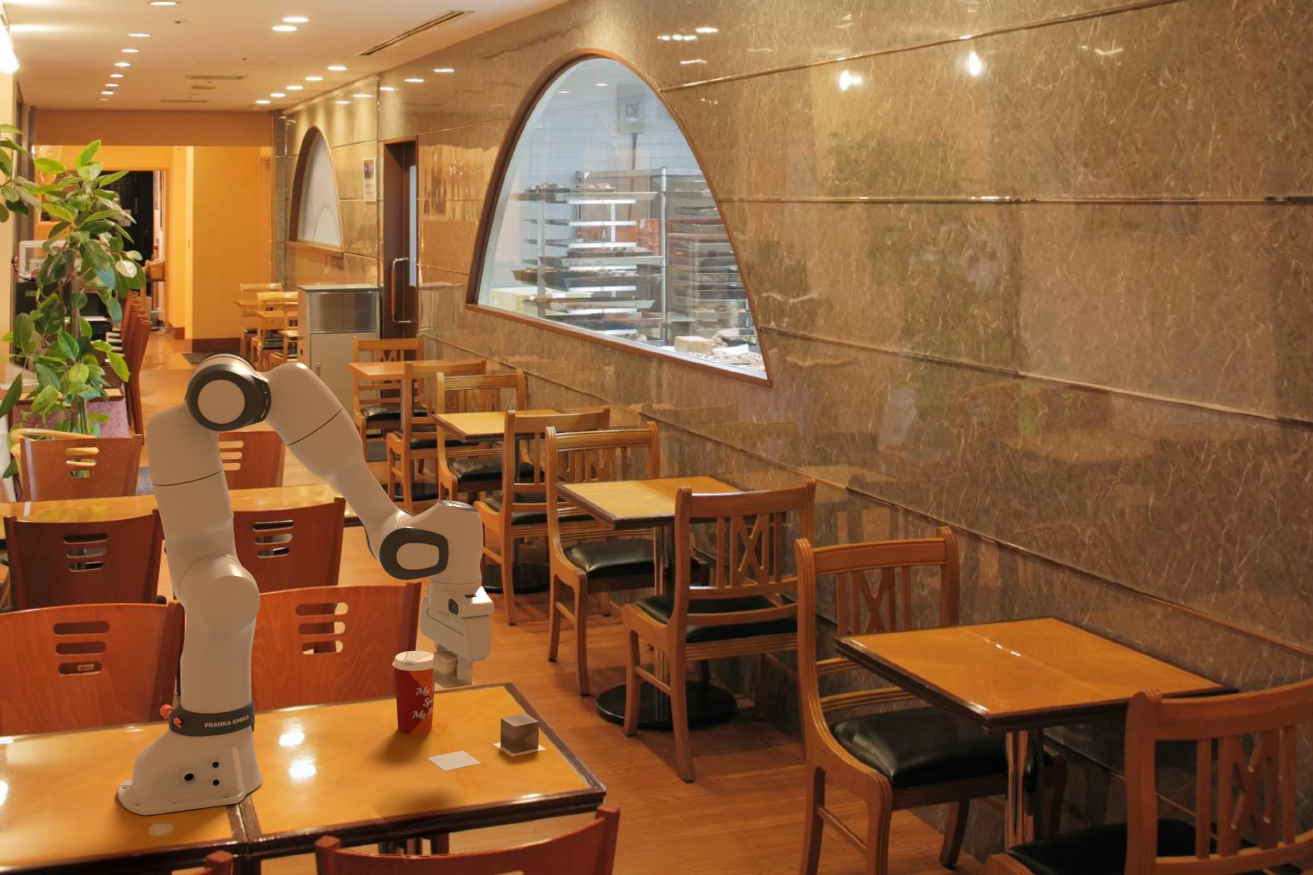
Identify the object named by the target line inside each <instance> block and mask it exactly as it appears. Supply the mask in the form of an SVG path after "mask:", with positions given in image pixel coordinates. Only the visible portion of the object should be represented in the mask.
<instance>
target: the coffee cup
mask: <svg viewBox="0 0 1313 875" xmlns="http://www.w3.org/2000/svg"><path fill="white" fill-rule="evenodd" d="M433 657H434V653H432V652H429V651H424V650H411V651H410V650H409V651H403V652H400V653H397V654H396V656H395V657H394V661H393V662H392V667H393V668H394V679H395V680H394V682H395V685H394V686H395V697H396V698H395V699H396V700H395V701H396V702H395V703H396V715H397V718H396V719H397V730H398V731H399V733H402V734H406V735H422V734H426V733H428V732H430V731H431V730H432V727H433V716H434V703H435V702H434V699H435V689H436V688H435V687H436V686H435V685H436V682H434V681H433Z"/></svg>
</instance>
